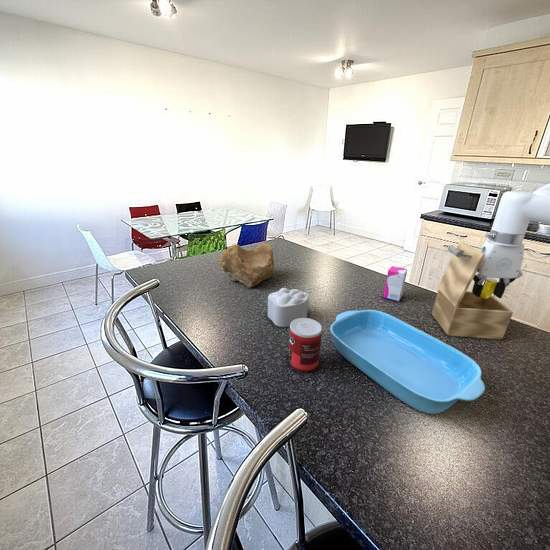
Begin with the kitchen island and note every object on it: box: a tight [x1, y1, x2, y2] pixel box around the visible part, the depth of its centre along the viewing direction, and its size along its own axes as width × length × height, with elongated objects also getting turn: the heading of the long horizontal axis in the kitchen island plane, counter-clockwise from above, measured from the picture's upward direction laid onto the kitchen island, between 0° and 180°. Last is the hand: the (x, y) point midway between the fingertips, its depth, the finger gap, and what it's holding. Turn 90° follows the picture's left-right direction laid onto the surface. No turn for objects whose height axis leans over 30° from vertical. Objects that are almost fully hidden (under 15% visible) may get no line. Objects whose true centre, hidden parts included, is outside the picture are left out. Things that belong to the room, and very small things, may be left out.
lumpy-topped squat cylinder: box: [267, 287, 310, 328], centre depth 94 cm, size 10×13×9 cm
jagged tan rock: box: [219, 242, 275, 289], centre depth 117 cm, size 23×17×15 cm
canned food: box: [287, 317, 323, 372], centre depth 73 cm, size 8×8×11 cm
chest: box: [431, 289, 514, 340], centre depth 91 cm, size 16×13×9 cm
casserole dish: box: [329, 309, 486, 415], centre depth 73 cm, size 37×22×7 cm, turn 35°
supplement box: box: [382, 265, 408, 303], centre depth 108 cm, size 6×6×12 cm
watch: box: [481, 277, 498, 299], centre depth 87 cm, size 6×3×6 cm, turn 125°
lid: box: [437, 240, 485, 307], centre depth 86 cm, size 16×13×5 cm
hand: (486, 295), depth 88 cm, fingers closed on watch, 5 cm apart
